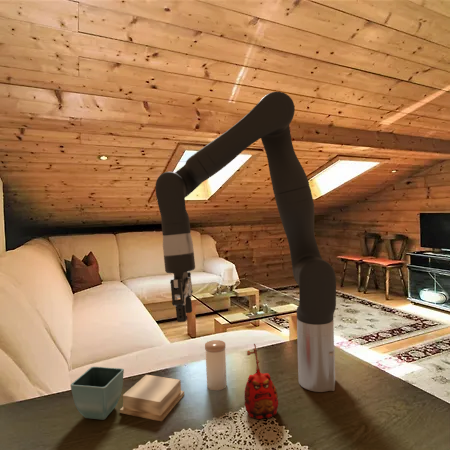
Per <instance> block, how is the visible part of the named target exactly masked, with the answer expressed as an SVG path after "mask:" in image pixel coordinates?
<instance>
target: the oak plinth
mask: <svg viewBox="0 0 450 450" xmlns="http://www.w3.org/2000/svg"><path fill="white" fill-rule="evenodd" d="M181 382H182V381H181V379H177V378H171V377H163V376H158V375H150V374H145V375H144V376H143V377H142V378H141V379H139V380H138V381H137V382H136V383H135V384H134V385H132V386H131V388H129V389H128V390H127V391H125V393H123V394H122V407H121V408H119V413H120V414H125V415H127V416H128V415H129V416H133V417H137V418H143V419H147V420H153V421H158V422H163V421H164V419H165V418H166V417H167V416H168V415H169V413H170V412H171V411H172V410H173V409H174V407H175V406H176V405H177V404H178V403H179V401H180V400H181V399H182V398H183V397H184V395H185V391H184V390H182V385H181Z"/></svg>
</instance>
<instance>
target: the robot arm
mask: <svg viewBox="0 0 450 450" xmlns="http://www.w3.org/2000/svg"><path fill="white" fill-rule="evenodd" d="M295 112H296V111H295V103H294V101H293V99H292V97H291V96H290V95H288V94H287V93H286V92H282V91H273V92H269V93H267V94H266V95H264V96H263V97H262V98H261V99H260V101H259V102H258V103H256V105H254V106H253V108H252V109H251V110H250V111H248V113H247V114H246V115H244V116H243V117H242V118H241V119H240V120H239V121H238V122H236V123H235V124H233V126H231V127H230V128H229V129H227V130H226V131H225V132H223V133H222V134H221V135H219V136H218V137H216V138H214V139H213V140H212V141H210V142H209V143H208V144H206V145H205V146H203V147H202V148H200V149H199V150H198V151H196V152H195V153H194V154H192V155H191V156H190V157H188V158H187V160H186V161H185V163H184V165H183V166H181V167H180V168H179V169H177V170H176V171H175V172H174V171H165V172H163V173H161V174H160V175H159V176H158V177H157V179H156V181H155V196H156V201H157V206H158V210H159V213H160V218H161V221H160V222H161V232H162V251H163V261H164V270H165V273H167V274H173V275H174V276H173V279H170V281H169V282H170V292H171V301H172V302H171V304H172V306H174V307H175V312H176V313H175V314H176V321H177V323H183V322H184V323H185V322H187V314H190V313H192V312H193V306H192V305H193V304H192V297H193V293H194V290H193V284H192V277H191V275H192V273H191V271H194V270H196V260H195V253H194V252H195V251H194V242H193V238H192V234H191V226H190V225H191V222H190V217H189V214H188V212H187V208H186V199H185V198H187V197H188V196H189V195H190V194H191V193H193V192H194V191H195V190H197V188H198V187H199V186H200V185H201V184H203V183H204V182H205V181H207V180H208V179H210V178H211V177H213V176H215V175H216V174H217V173H218V172H220V171H221V170H223V169H224V168H225V167H227V165H229V164H230V163H231V162H232V161H233V160H235V159H236V158H237V157H238V156H239V155H240V154H242V152H244V151H245V150H246V149H247V148H249V147H250V146H251V145H253V144H254V143H255V142H257V141H259V140H261V144H262V146H263V148H264V150H265V155H266V159H267V163H268V170H269V176H270V181H271V185H272V186H271V187H272V191H273V195H274V199H275V203H276V207H277V211H278V215H279V218H280V221H281V224H282V228H283V230H284V233H285V237H286V240H287V243H288V247H289V248H288V249H289V253H290V261H291V266H292V267H291V269H292V275H293V279H294V281H295V283H296V284H297V285H298V289H299V290H298V293H299V294H298V295H299V296H298V297H299V299H298V300H299V301H298V302H299V303H298V306H297V308H296V335H297V336H296V337H297V341H296V342H297V370H298V372H297V374H298V377H297V378H298V384H299V385H300V386H301V388H304V389H305V390H308V391H311V392H315V393H323V392H328V391H330V392H335V388H336V361H335V360H336V354H335V353H336V351H335V349H336V347H335V336H334V335H335V332H334V331H335V330H334V329H335V328H334V327H335V326H334V324H335V323H334V315H335V311H336V307H337V276H336V271H335V269H334V267H333V265H332V264H330V263H329V262H328V261H326V260H324V259H323V258H322V255H321V252H320V250H319V245H318V243H317V238H316V236H315V204H314V198H313V194H312V189H311V186H310V182H309V179H308V177H307V174H306V170H304V167H303V165H302V164H301V161H300V160H299V158H298V157H297V154H296V152H295V149H294V145H293V141H292V140H293V139H292V136H291V129H290V124H291V123H292V121H293V119H294V116H295ZM179 298H180V299H179Z"/></svg>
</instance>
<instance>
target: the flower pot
mask: <svg viewBox="0 0 450 450" xmlns="http://www.w3.org/2000/svg"><path fill="white" fill-rule="evenodd" d="M124 371H125V369H124V368H119V367H103V366H91V367H90V368H88V369H87V370H86V371H85V372H84V373H83V374H81V375H80V376H79V377H78V378H76V380H74V381H73V382H71V384H70V391H71V394H72V399H73V403H74V405H75V408H76V410H77V411H78V412H79V413H80V415H82V417H84V418H85V419H90V420H91V419H94V420H101V421H104V420H106V419H107V418H108V416H109V415H110V414H111V413H112V412H113V410H114V409H115V408H116V407H117V404H118V403H119V401H120V398H121V396H122V392H123V388H124V387H123V386H124V385H123V384H124V373H125V372H124Z"/></svg>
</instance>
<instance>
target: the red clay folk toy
mask: <svg viewBox="0 0 450 450" xmlns="http://www.w3.org/2000/svg"><path fill="white" fill-rule="evenodd" d="M256 345H257V344H256V343H253V346H254V348H252V350H253V351H250V350H247V353H246V356H250V355H252V354H254V356H255V363H256V369H255V370H256V371H255V373H253V374H250V375H248V378H247V380H246V381H247V382H246V384H245V388H244V408H245V410H246V413H247V415H248V417H250V418H251V419H252V418H253V419H257V420H262V419H270V418H273V417H275V416H277V414H278V413H277V412H278V408H279V407H278V406H279V400H278V397H279V395H278V392H277V388H276V386H275V385H274V382H273V381H272V379H271V375H270V373H269V372H266V373H262V372H261V369H260V366H259V363H260V361H259V359H258V351H260V349H259V348H258V349H257V346H256Z"/></svg>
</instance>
